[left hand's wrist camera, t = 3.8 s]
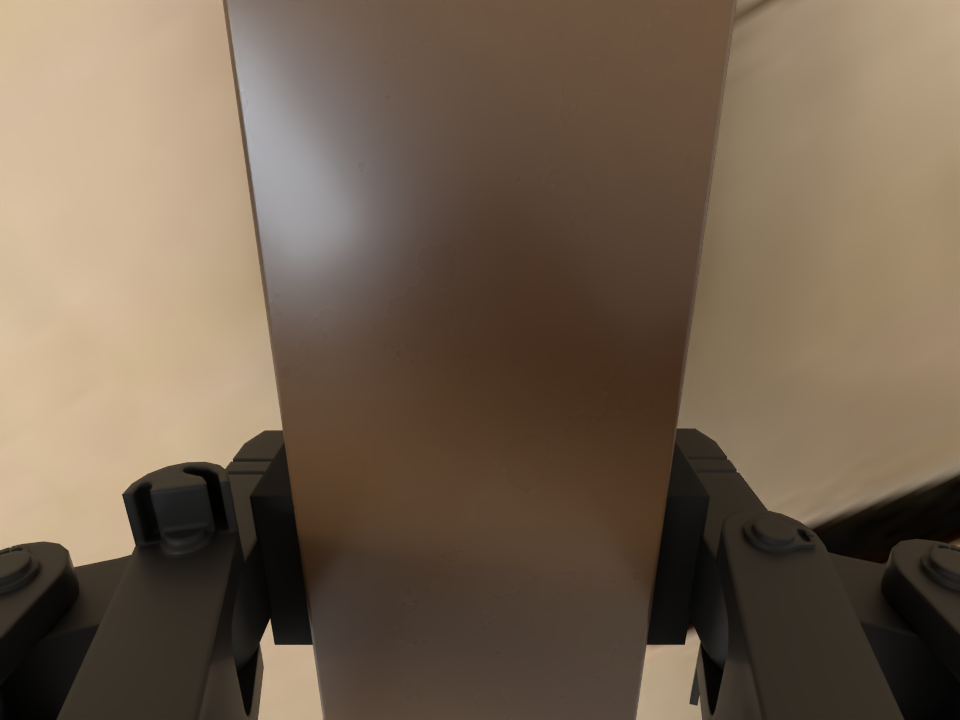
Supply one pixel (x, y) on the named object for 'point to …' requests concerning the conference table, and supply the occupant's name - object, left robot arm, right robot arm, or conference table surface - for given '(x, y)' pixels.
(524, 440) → the post
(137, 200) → the conference table surface
